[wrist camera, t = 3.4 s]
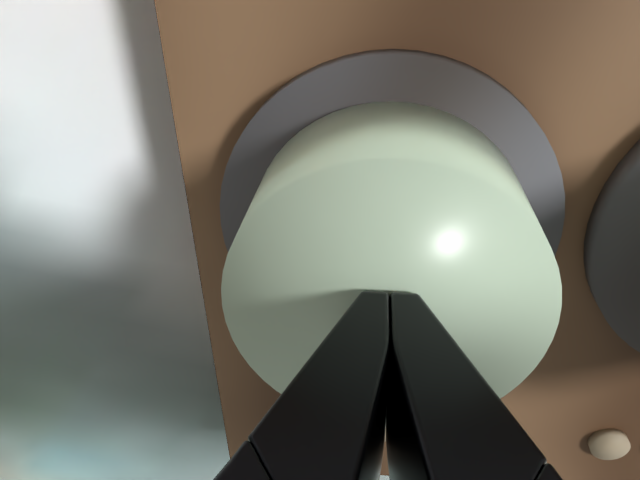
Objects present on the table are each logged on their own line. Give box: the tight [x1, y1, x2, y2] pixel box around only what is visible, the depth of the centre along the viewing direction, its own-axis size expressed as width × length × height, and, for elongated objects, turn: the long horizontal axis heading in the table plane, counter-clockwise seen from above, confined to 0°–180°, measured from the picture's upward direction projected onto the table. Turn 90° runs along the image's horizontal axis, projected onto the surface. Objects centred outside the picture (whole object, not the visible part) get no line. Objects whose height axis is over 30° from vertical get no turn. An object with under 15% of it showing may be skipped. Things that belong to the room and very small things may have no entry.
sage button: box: [221, 101, 562, 428], centre depth 9 cm, size 5×5×2 cm
